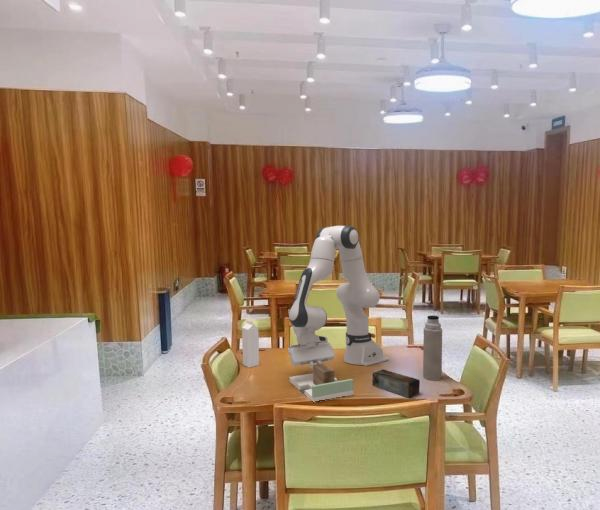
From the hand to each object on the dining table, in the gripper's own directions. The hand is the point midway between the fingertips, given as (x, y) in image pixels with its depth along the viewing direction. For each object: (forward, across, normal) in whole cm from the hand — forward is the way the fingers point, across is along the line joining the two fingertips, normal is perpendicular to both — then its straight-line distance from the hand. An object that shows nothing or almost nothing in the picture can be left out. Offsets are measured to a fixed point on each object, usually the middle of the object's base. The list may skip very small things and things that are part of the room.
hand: (317, 371), depth 190 cm
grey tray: (+6, 0, +3) cm, 7 cm away
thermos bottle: (+14, +51, -4) cm, 53 cm away
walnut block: (+7, 0, -1) cm, 7 cm away
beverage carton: (+17, +28, -7) cm, 34 cm away
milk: (-23, -18, +33) cm, 44 cm away
